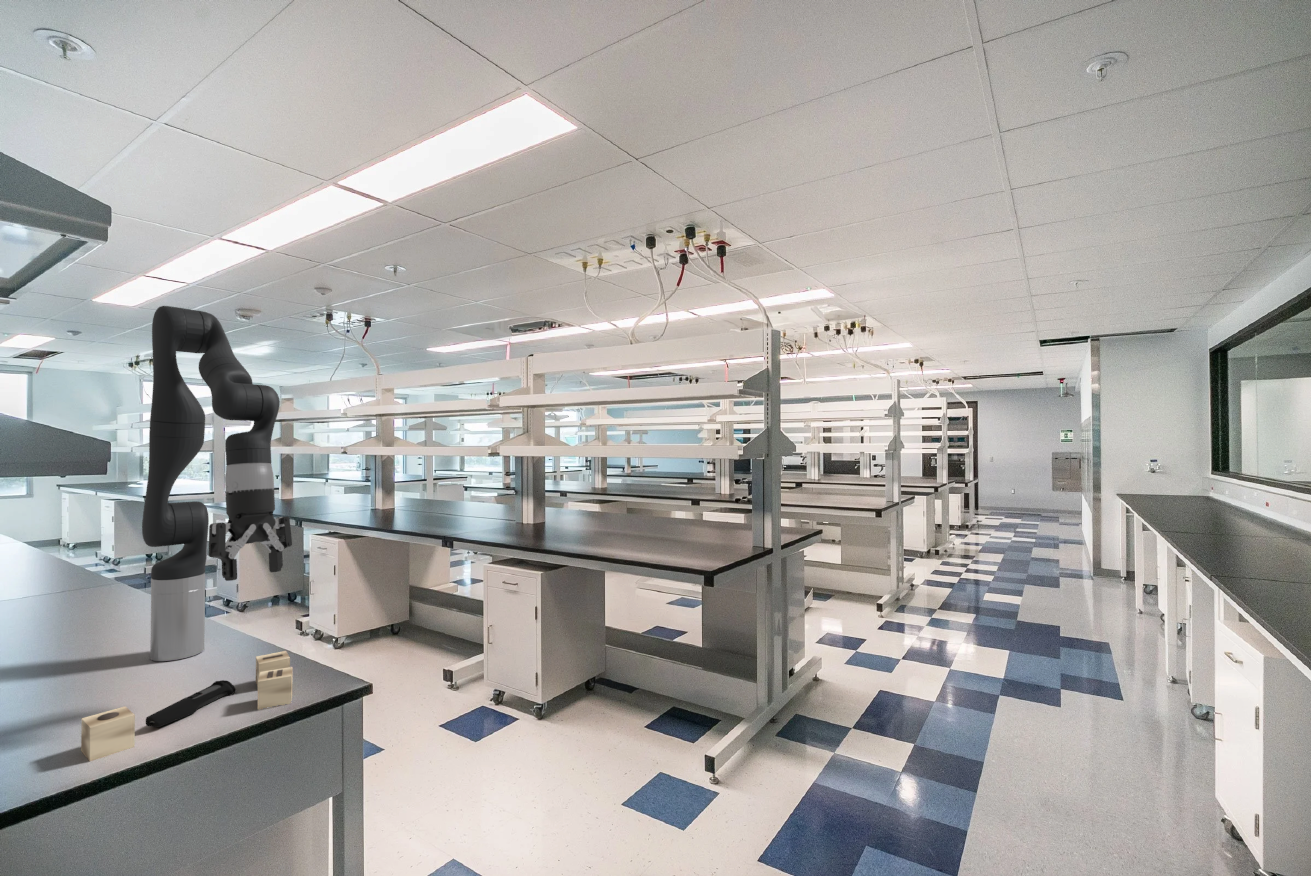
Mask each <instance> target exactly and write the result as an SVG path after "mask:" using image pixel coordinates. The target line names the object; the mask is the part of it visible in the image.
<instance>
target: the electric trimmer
mask: <svg viewBox="0 0 1311 876" xmlns="http://www.w3.org/2000/svg"><path fill="white" fill-rule="evenodd" d="M234 693H236V688H235V686H234V684H232V682H230V681H229V680H224V679H223V680H216V681H214V682H213V683H212V684H211V685H209V686H207V687H206V688H203V689H201V690H199V691H197V692H196V691H195V692H194V693H192V694H191V695H189V696H187V697H184V698H182V699H180V700H178V701H176V702H174V703H172V704H171V705H168V706H166V707H164V708H162V709H160V710H158V711H156V712H154V713H152V714H150V715H148V716H147V717H145V726H147V727H153V728H154V727H156V728H160V727H162V726H166V725H169V724H170V723H173V722H176V721H178V720H181V719H183V718H185V717H188V716H190V715H192V714H195V713H196V712H197V710H199V709H200V708H202V707H204V706H206V705H208V704H210V703H213V702H214V701H216V700H218V699H220V698H223V697H225V696H231V695H234Z"/></svg>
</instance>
